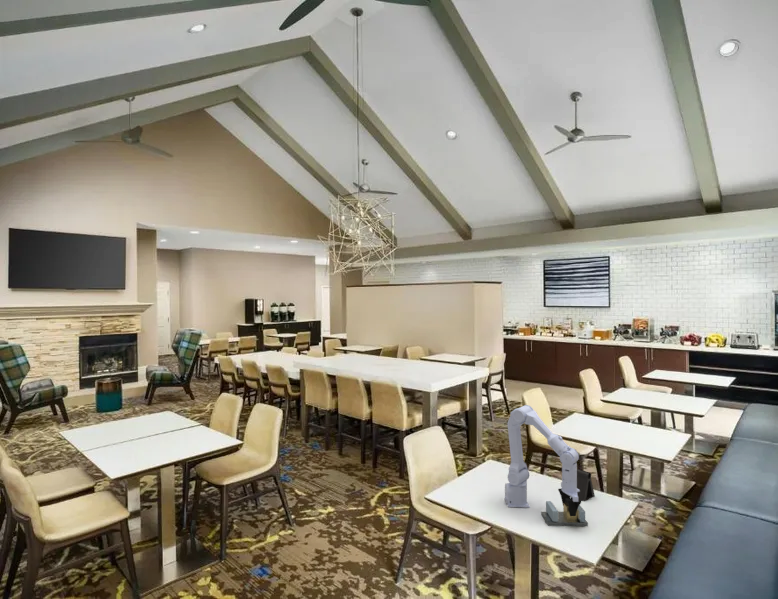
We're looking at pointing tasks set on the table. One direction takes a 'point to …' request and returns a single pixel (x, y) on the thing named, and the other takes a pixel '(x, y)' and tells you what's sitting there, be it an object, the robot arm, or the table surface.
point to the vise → (563, 521)
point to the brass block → (566, 512)
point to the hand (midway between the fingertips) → (569, 511)
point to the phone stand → (584, 485)
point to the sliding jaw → (552, 511)
